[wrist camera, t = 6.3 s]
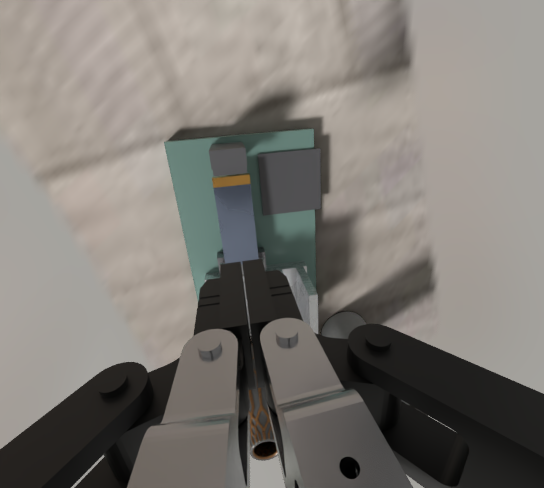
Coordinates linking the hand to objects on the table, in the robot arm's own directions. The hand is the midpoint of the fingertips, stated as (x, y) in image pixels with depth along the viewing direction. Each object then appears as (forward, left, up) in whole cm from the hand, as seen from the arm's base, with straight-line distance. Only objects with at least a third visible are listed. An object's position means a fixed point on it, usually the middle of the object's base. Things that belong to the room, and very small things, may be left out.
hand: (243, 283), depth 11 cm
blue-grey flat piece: (+2, 0, -10) cm, 11 cm away
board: (+4, +1, -13) cm, 13 cm away
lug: (-3, 0, -11) cm, 12 cm away
